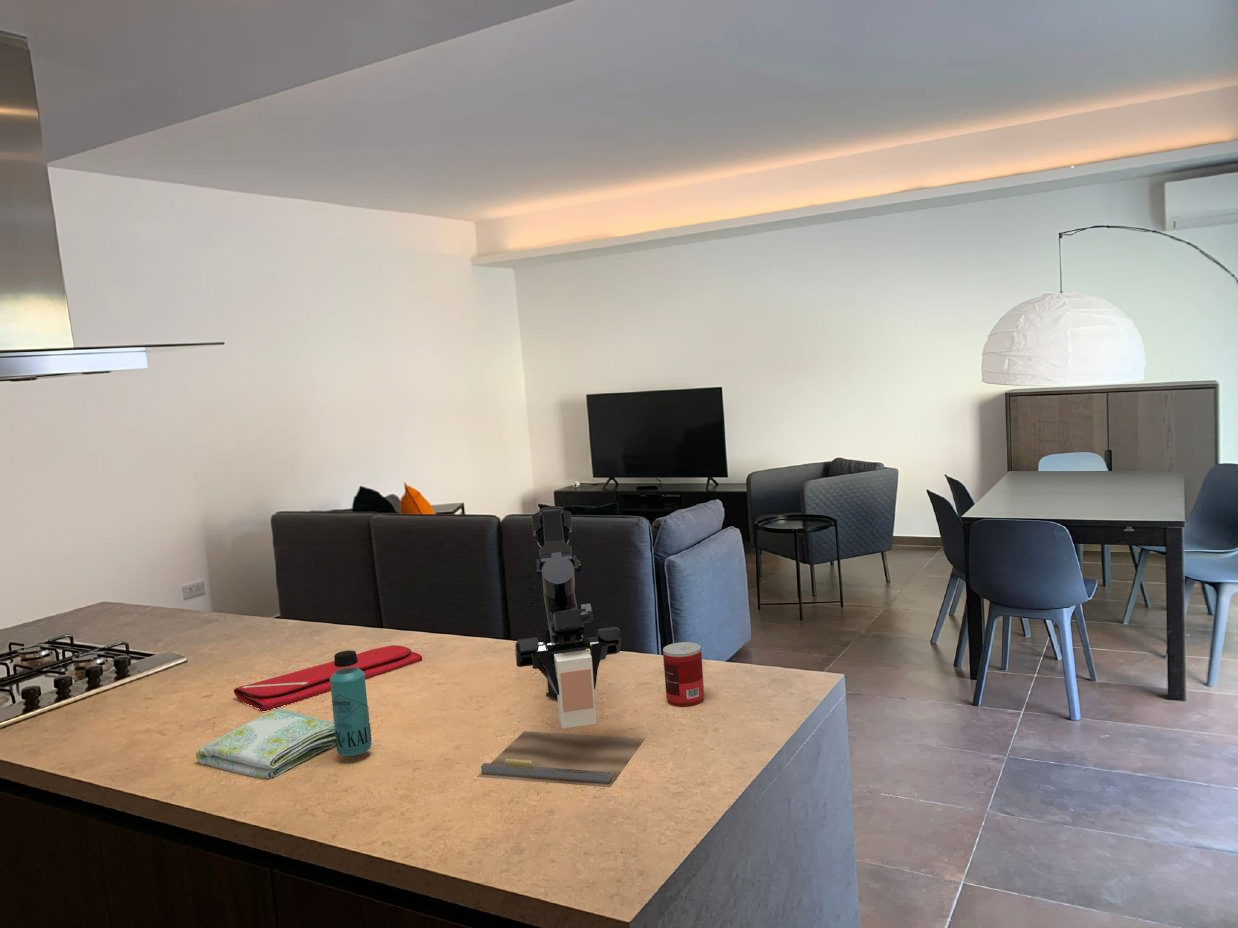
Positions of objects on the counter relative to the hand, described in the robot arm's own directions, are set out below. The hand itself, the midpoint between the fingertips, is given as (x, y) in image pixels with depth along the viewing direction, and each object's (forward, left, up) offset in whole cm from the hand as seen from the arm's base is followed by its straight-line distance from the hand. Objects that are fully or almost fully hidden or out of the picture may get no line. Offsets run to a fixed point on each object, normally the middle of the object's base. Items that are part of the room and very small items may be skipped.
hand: (576, 690), depth 155 cm
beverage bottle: (+26, -35, -13) cm, 46 cm away
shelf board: (+2, -3, -13) cm, 13 cm away
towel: (+36, -50, -14) cm, 63 cm away
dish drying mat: (+11, -84, -14) cm, 86 cm away
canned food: (-33, -8, -13) cm, 36 cm away
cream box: (-1, -1, -6) cm, 6 cm away
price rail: (+9, +1, -12) cm, 15 cm away
